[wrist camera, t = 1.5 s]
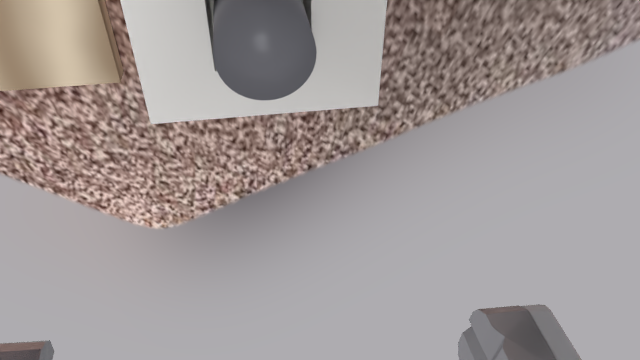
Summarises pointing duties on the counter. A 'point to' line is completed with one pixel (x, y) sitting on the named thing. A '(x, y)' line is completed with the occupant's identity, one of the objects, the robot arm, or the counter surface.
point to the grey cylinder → (263, 46)
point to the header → (209, 89)
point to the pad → (56, 44)
